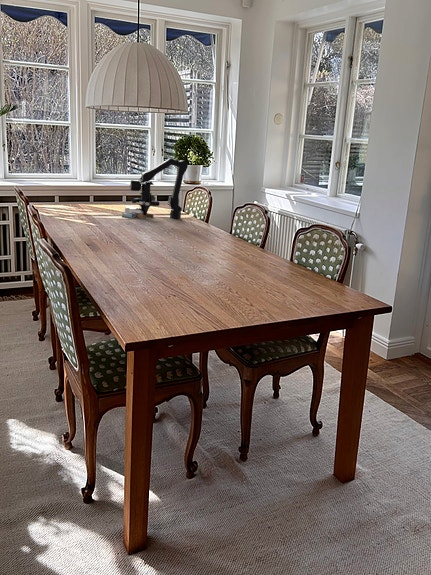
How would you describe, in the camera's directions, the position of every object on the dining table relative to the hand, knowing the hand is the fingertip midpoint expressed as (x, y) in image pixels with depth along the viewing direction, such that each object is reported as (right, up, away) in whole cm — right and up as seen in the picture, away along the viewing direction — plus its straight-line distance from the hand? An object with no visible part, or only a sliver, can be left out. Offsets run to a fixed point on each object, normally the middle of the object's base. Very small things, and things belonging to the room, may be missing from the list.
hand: (145, 215), depth 350 cm
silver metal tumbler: (-8, 0, +4) cm, 9 cm away
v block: (-10, -2, -2) cm, 11 cm away
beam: (-7, -1, +4) cm, 8 cm away
